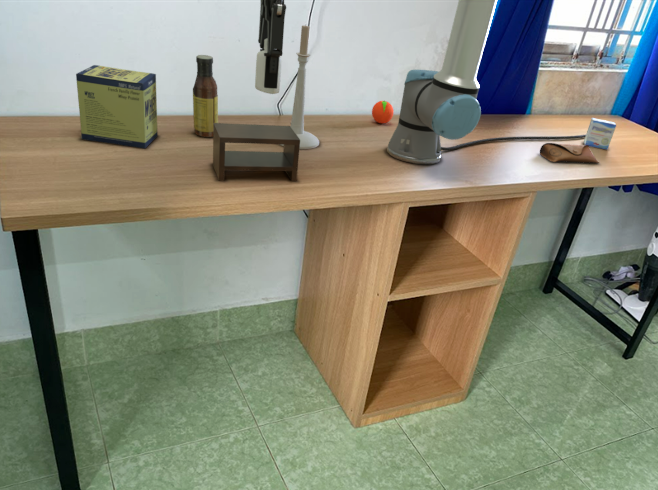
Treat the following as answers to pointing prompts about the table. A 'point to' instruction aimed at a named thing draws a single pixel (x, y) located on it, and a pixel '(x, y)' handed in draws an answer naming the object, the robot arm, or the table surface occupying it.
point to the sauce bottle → (205, 97)
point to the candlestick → (302, 96)
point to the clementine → (382, 112)
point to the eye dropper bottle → (261, 72)
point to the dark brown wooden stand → (251, 158)
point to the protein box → (117, 106)
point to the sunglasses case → (567, 153)
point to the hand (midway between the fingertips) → (267, 83)
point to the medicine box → (599, 133)
